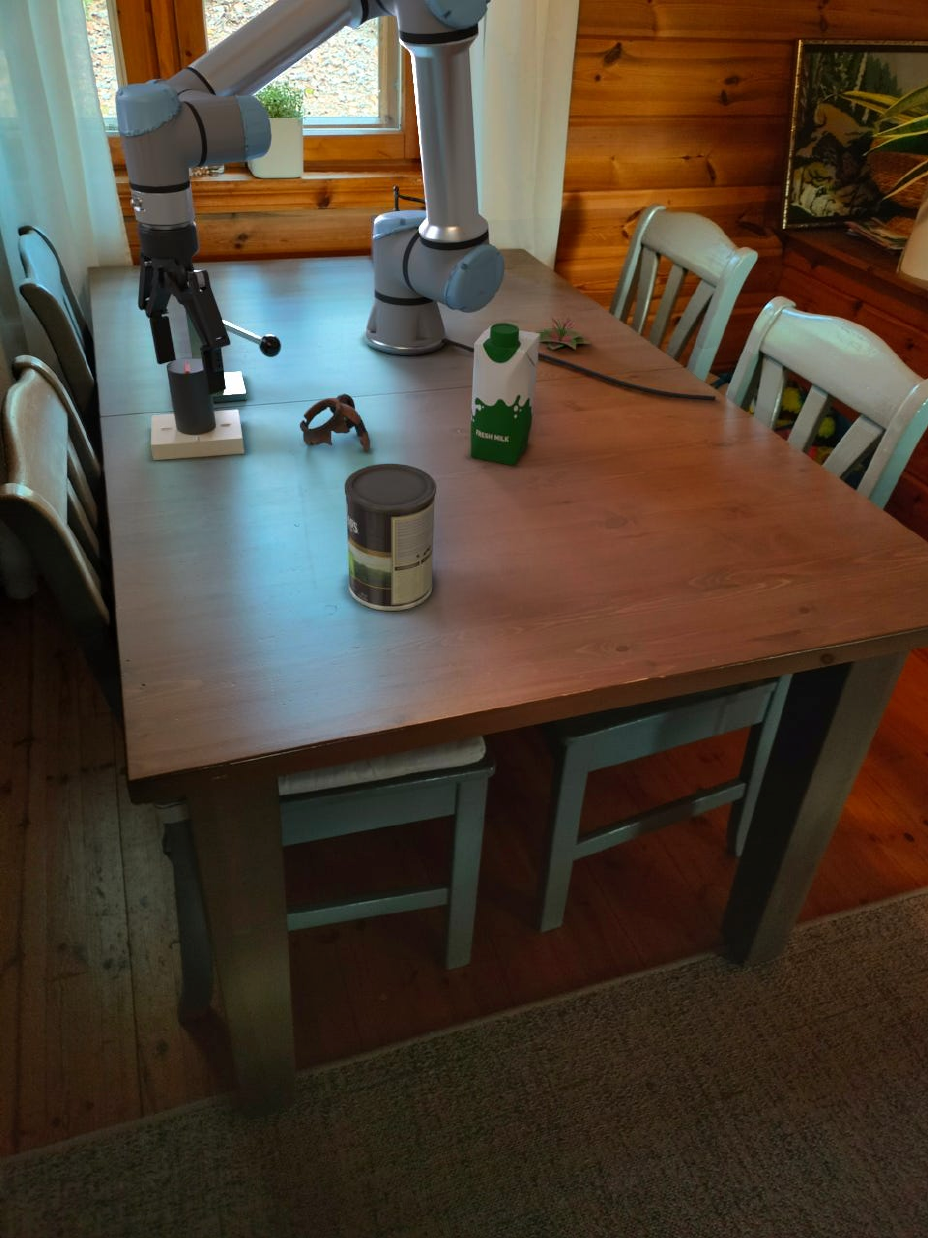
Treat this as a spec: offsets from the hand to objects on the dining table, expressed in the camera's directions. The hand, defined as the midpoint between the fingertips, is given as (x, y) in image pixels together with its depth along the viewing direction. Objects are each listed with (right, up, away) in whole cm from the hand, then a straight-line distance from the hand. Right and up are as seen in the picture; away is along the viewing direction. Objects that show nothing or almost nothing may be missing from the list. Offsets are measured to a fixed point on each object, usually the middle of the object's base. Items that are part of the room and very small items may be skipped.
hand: (191, 376), depth 132 cm
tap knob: (-1, -6, +5) cm, 8 cm away
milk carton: (+45, -10, +8) cm, 47 cm away
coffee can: (+31, -32, -21) cm, 49 cm away
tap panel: (-1, -8, +6) cm, 10 cm away
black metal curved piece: (+26, +48, +82) cm, 99 cm away
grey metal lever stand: (-3, +3, +21) cm, 21 cm away
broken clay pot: (+20, -8, +8) cm, 23 cm away
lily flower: (+58, +19, +46) cm, 76 cm away
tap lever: (+2, +10, +17) cm, 20 cm away
